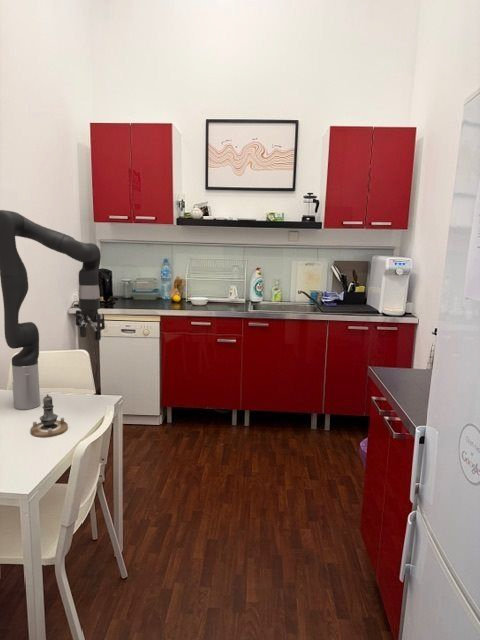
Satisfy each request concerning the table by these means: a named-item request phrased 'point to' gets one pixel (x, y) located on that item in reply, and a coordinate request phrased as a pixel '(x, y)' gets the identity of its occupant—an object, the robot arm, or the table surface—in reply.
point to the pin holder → (50, 432)
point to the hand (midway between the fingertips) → (90, 338)
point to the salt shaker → (48, 414)
